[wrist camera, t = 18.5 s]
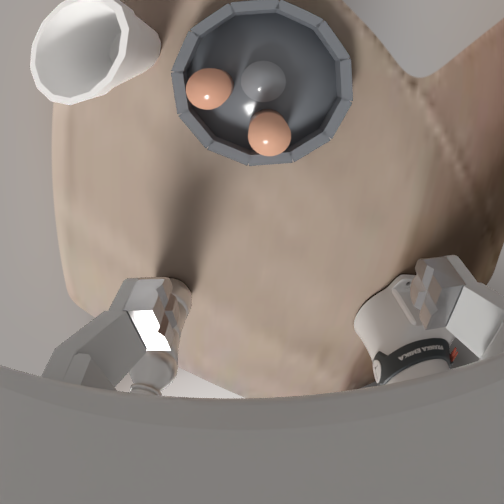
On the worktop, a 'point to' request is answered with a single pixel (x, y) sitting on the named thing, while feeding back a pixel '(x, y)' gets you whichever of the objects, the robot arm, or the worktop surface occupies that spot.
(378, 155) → the worktop surface
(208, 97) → the peach egg shape
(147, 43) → the foam cup
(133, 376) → the plastic bottle
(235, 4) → the tray
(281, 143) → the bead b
